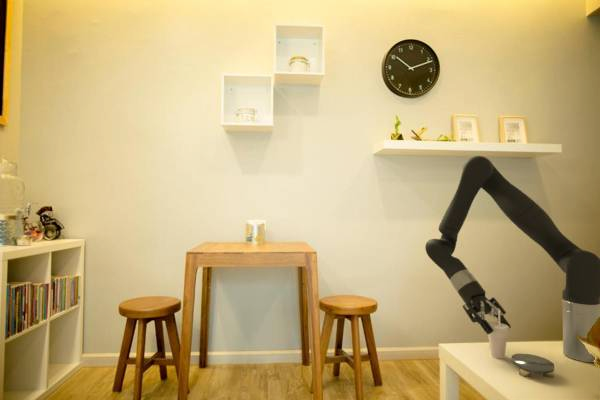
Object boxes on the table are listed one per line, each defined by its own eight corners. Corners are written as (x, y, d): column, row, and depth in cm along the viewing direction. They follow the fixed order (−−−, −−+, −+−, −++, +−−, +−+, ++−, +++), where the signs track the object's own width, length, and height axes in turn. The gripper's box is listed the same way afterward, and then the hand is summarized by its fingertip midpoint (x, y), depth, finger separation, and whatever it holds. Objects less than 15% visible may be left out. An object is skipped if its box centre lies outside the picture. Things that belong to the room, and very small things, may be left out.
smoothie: (512, 361, 106) (512, 314, 107) (489, 359, 108) (489, 313, 108) (505, 353, 113) (504, 308, 113) (483, 351, 114) (482, 307, 114)
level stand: (512, 361, 106) (512, 350, 106) (553, 369, 101) (553, 358, 101) (511, 374, 98) (511, 363, 98) (555, 384, 92) (555, 372, 93)
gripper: (459, 281, 115) (493, 328, 104) (487, 278, 121) (522, 321, 111) (446, 294, 119) (477, 340, 109) (474, 290, 126) (505, 333, 115)
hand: (499, 330), depth 110 cm, fingers open, 8 cm apart
